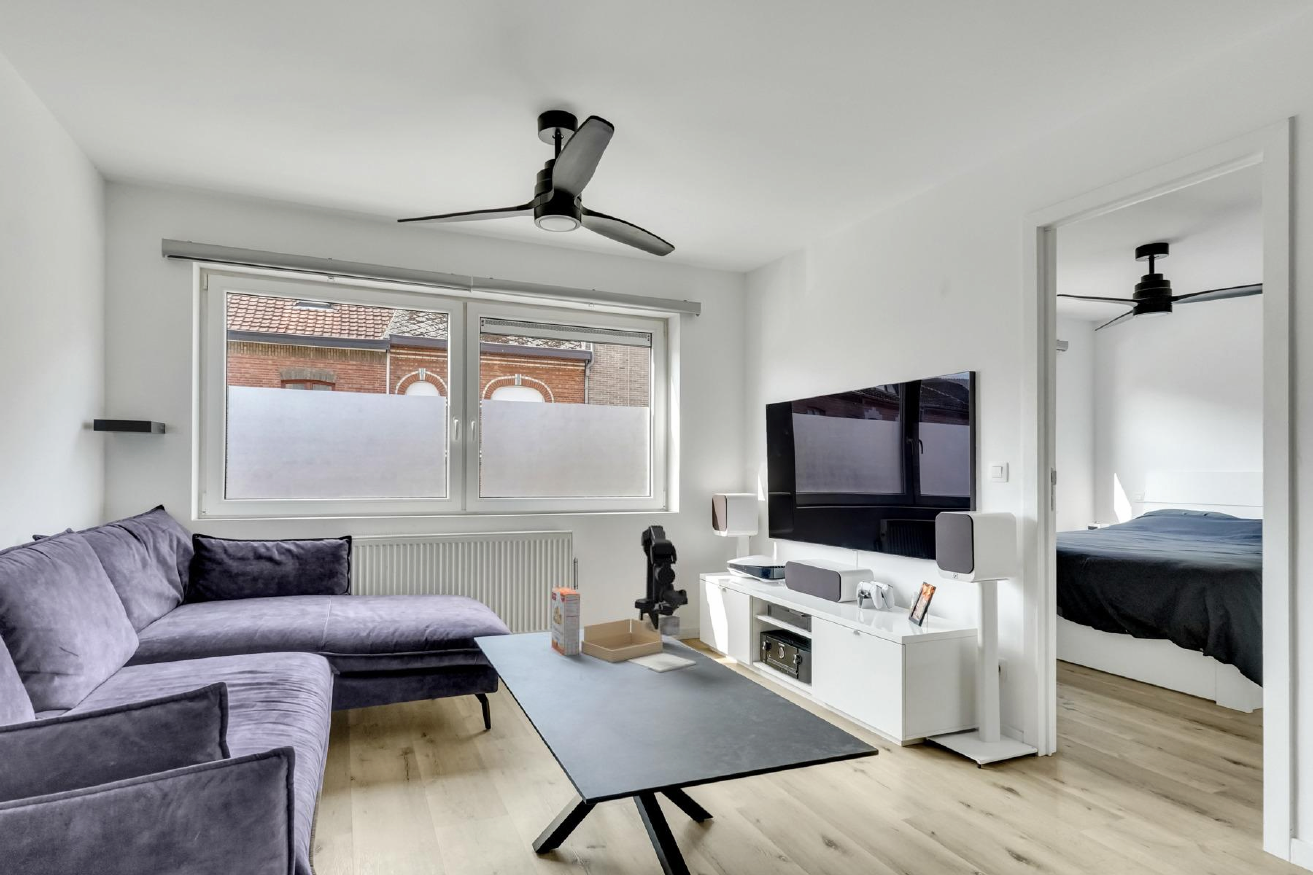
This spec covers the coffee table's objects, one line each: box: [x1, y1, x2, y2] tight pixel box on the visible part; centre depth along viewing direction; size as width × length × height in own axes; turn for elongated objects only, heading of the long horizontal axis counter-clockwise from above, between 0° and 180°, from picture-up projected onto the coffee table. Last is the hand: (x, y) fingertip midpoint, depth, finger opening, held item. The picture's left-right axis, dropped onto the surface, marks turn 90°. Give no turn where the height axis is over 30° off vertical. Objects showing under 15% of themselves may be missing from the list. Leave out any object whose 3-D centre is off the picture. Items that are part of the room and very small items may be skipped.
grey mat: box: [626, 651, 697, 674], centre depth 246 cm, size 16×16×1 cm
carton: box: [580, 618, 664, 663], centre depth 258 cm, size 22×17×9 cm
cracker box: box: [551, 586, 581, 656], centre depth 260 cm, size 14×6×21 cm, turn 25°
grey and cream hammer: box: [643, 613, 681, 637], centre depth 247 cm, size 13×5×5 cm, turn 41°
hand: (661, 628), depth 246 cm, fingers closed on grey and cream hammer, 4 cm apart
